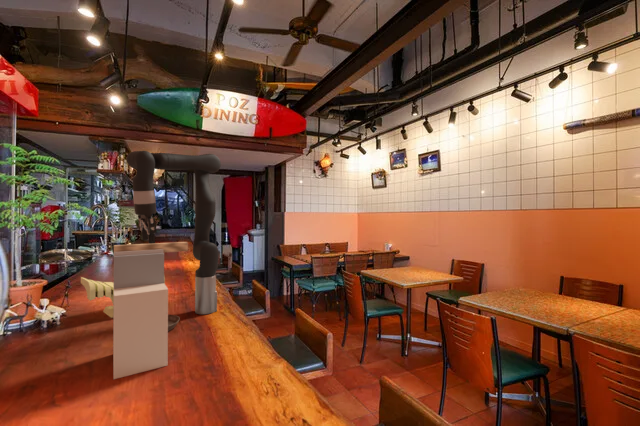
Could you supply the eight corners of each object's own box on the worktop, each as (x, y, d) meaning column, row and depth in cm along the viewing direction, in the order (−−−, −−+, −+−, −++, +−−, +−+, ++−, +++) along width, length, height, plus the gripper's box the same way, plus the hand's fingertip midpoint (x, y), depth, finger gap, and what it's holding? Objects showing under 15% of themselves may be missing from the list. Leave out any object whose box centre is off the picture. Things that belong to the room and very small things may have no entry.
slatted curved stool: (89, 325, 126) (90, 282, 125) (80, 316, 136) (80, 276, 136) (164, 307, 148) (164, 271, 148) (151, 301, 159) (152, 267, 159)
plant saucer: (120, 332, 119) (120, 325, 119) (161, 318, 135) (161, 311, 135) (149, 341, 111) (150, 333, 111) (189, 325, 127) (189, 318, 127)
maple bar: (186, 249, 111) (186, 241, 111) (187, 250, 108) (187, 242, 108) (113, 254, 98) (113, 245, 98) (113, 255, 96) (113, 246, 96)
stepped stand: (160, 343, 109) (160, 247, 109) (167, 365, 94) (168, 253, 94) (113, 354, 101) (113, 249, 101) (113, 379, 86) (114, 257, 86)
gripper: (161, 202, 117) (164, 243, 120) (149, 199, 127) (153, 237, 130) (139, 204, 112) (143, 246, 114) (129, 201, 122) (133, 240, 124)
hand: (148, 241), depth 122 cm, fingers open, 8 cm apart
